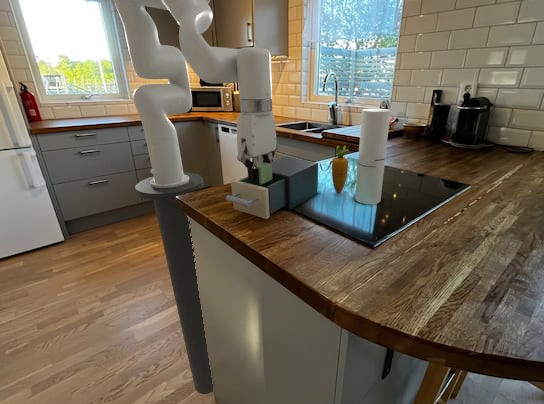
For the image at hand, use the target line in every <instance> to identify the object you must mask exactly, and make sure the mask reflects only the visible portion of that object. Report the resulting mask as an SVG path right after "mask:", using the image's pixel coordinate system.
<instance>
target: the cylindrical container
mask: <svg viewBox="0 0 544 404" xmlns="http://www.w3.org/2000/svg"><path fill="white" fill-rule="evenodd" d="M391 111H392V109H388V108H375V107H374V108H371V107H370V108H363V109H361V120H360V133H359V136H360V137H359V145H358V147H359V148H358V158H357V169H356V170H357V172H356V184H355V185H356V186H355V196H354V198H355V201H356V202H358V203H361V204H362V205H363V204H364V205H376V204H379V203H380V202H381V199H382V190H383V182H384V173H385V165H386V156H387V146H388V137H389V129H390V120H391Z"/></svg>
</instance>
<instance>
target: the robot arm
mask: <svg viewBox="0 0 544 404" xmlns="http://www.w3.org/2000/svg"><path fill="white" fill-rule="evenodd" d="M210 2H211V0H113V3H114V5H115V8H116V11H117V13H118V15H119V17H120V20H121V23H122V25H123V29H124V34H125V40H126V44H127V48H128V49H127V50H128V53H129V57H130V62H131V66H132V69H133V71H134V74H135V75H136V76H137V77H138V78H140V79H144V80H167V83H148V84H142V85H140V86H138V87H137V88H136V89H135V90H134V92H133V97H132V98H133V103H134V106H135V108H136V110H137V114H138V116H139V119H140V121H141V124H142V129H143V132H144V137H145V143H146V146H147V152H148V157H149V160H150V166H151V170H150V174H152V175H153V176H154V178H153V179H152V180H151V181H150V185H151V186H152V187H154V188H173V187H178V186H181V185H184V184H186V183H187V182H189V176H187V175H185V174H184V173H185V172H184V168H183V167H184V166H183V162H182V156H181V150H180V144H179V137H178V133H177V129H176V127H175V125H174V123H173V122H172V121H171V120H170V119H169V118H168V116H174V115H182V114H187V113H188V112H190V110H191V108H192V105H193V96H192V88H191V81H190V74H189V68H188V65H189V67H190V68H191V69H192V71H193V72H194V74H196V76H197V77H198V78H199V79H200V80H202V81H203V82H205V83H207V84H214V85H215V84H238V95H239V96H238V97H239V109H240V110H239V111H240V113H238V114H237V121H236V146H237V147H236V149H237V156H236V160H237V161H238V162H240V163H242V164H243V165H244V167H245V169H246V170H247V171H246V172H247V177H248V181H249V182H250V183H254V184H259V171H258V168H256V167H257V162H258V157H259V156H261V162H266V163H272V162H273V161H274V157H275V156H276V155H275V154H276V152H277V151H278V149H279V146H278V144H277V129H276V121H275V116H274V111H273V88H272V86H273V85H272V63H271V62H272V59H271V58H272V57H271V52H270V51H269V50H268V49H267V48H265V47H259V46H258V47H256V46H249V47H248V46H247V47H246V46H245V47H240V48H231V47H222V46H210V44H209V43H208V42H207V41H206V40H205V38H204V37H203V35H202V34H203V33H205V32H206V31H207V30H208V29H209V27H210V26H211V24H212V22H213V10H212V9H211V6H210V5H209V3H210ZM144 7H150V8H154V9H160V10H165V11H169V13H170V14H171V15H172V17H173V18H174V20H175V21H176V23H177V25H179V29H178V31H179V32H178V41H179V47H180V49H179V48H178V47H176V46H173V45H169V44H168V45H166V44H161V43H160V39H159V32H158V28H157V25H156V23H155V22H154V21H155V20H153V18H152V16H151V15H150V13H148V12H147V10H146V8H144ZM183 172H184V173H183ZM153 176H152V177H153Z"/></svg>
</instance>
